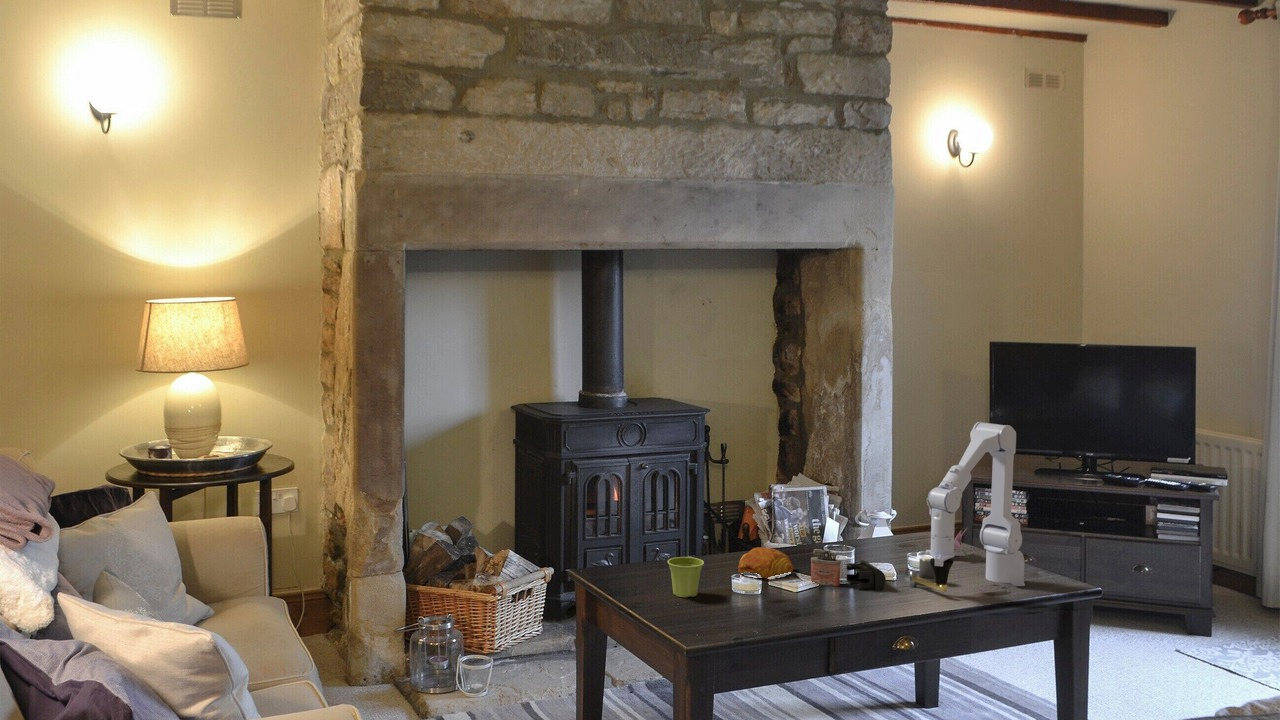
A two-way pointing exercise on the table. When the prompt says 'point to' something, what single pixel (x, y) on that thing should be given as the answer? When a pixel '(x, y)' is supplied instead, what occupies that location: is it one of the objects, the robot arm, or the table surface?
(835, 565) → the lighter
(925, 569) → the plug
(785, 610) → the table surface
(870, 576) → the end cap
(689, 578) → the plant pot
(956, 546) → the lily
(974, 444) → the robot arm
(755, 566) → the croissant
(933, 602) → the table surface
